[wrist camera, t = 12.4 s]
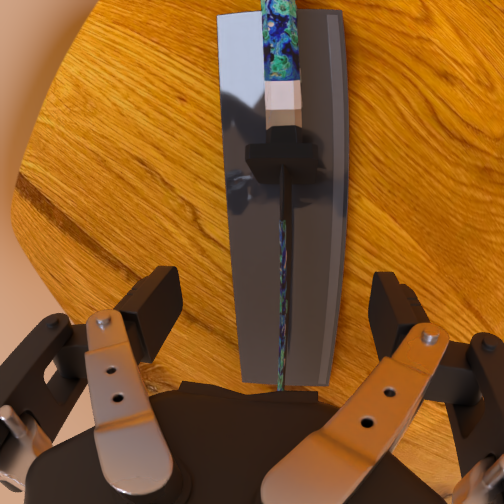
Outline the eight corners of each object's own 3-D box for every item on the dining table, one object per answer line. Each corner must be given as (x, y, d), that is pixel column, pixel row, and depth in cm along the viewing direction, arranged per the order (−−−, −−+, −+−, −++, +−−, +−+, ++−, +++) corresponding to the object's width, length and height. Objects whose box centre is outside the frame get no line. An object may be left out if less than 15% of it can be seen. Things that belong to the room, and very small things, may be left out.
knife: (267, -15, 14) (254, -55, 9) (317, -14, 13) (316, -55, 9) (248, 420, 22) (236, 462, 18) (286, 425, 22) (280, 468, 17)
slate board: (245, 369, 25) (241, 383, 24) (222, 21, 15) (215, 14, 14) (328, 373, 24) (328, 387, 23) (339, 17, 14) (342, 9, 13)
